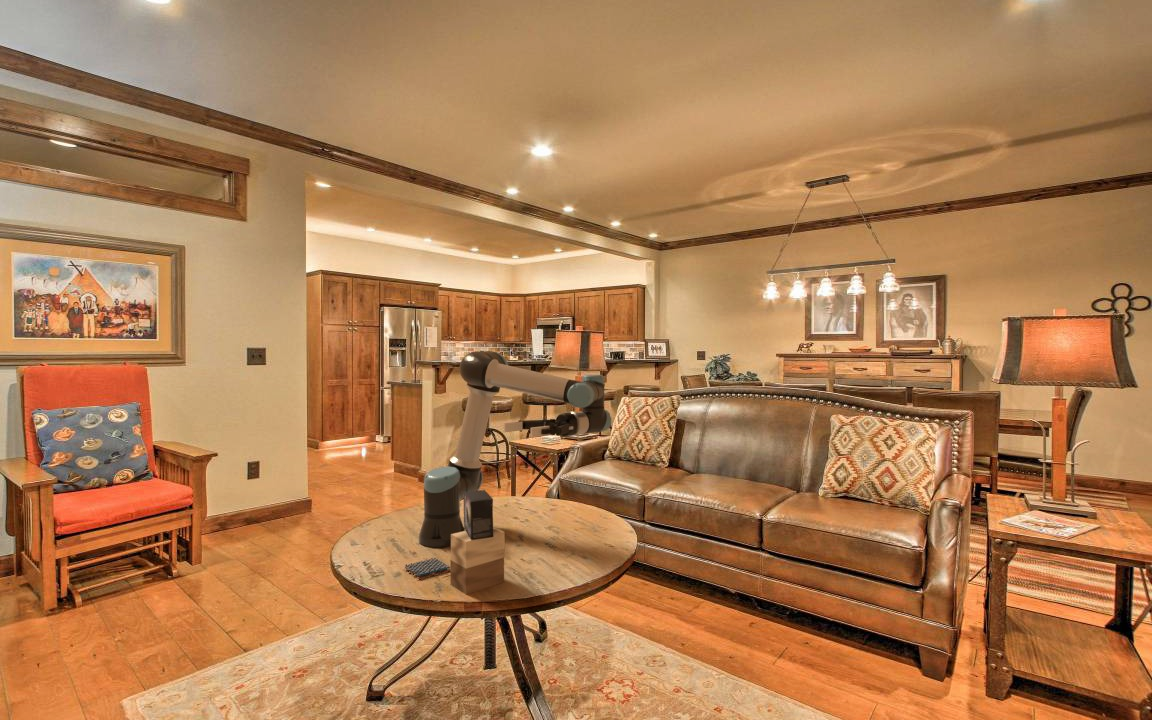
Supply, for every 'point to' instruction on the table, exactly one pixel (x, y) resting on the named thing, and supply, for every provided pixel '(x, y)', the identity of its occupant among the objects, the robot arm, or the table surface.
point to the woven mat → (427, 568)
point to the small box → (478, 514)
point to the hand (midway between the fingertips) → (517, 430)
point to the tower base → (477, 576)
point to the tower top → (477, 548)
